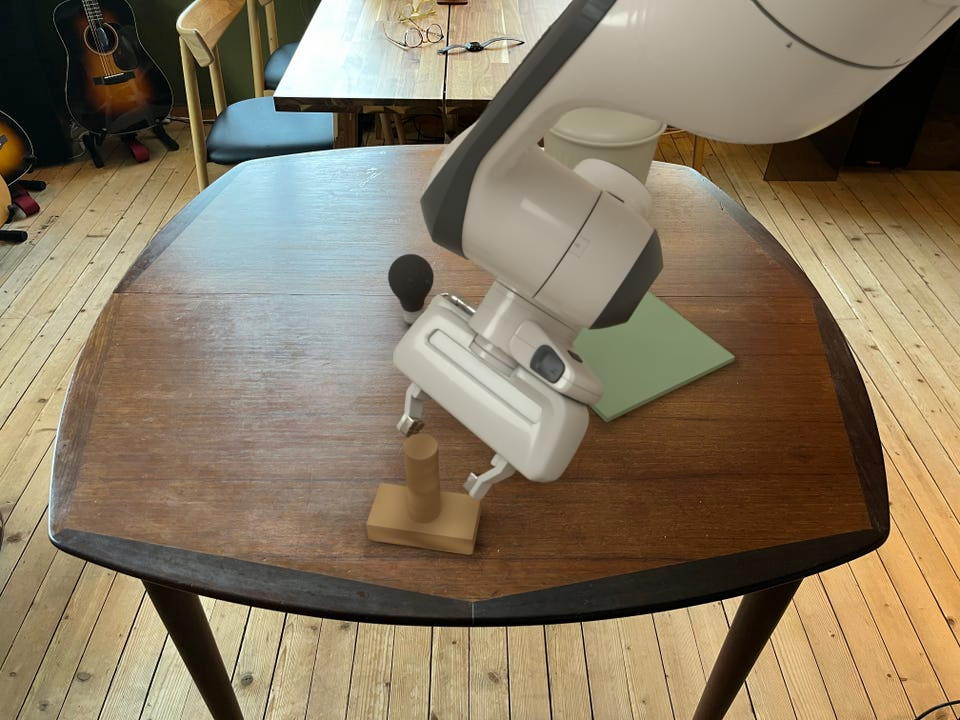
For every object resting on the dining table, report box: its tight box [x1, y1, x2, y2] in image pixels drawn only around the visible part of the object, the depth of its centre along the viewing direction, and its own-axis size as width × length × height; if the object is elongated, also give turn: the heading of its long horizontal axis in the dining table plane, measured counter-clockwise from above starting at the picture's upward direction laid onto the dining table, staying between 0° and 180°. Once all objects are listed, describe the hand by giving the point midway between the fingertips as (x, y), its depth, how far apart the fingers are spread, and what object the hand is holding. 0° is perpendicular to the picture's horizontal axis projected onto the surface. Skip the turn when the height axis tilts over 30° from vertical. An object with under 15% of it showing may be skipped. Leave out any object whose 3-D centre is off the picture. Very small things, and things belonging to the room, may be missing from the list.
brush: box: [365, 432, 482, 556], centre depth 67 cm, size 10×5×12 cm, turn 81°
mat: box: [573, 290, 736, 423], centre depth 93 cm, size 24×20×1 cm
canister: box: [543, 108, 668, 186], centre depth 108 cm, size 18×18×21 cm
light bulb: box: [387, 253, 435, 325], centre depth 92 cm, size 6×6×10 cm
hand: (436, 463), depth 66 cm, fingers open, 8 cm apart
